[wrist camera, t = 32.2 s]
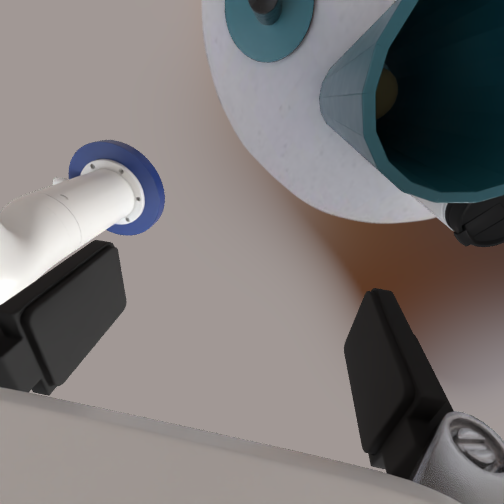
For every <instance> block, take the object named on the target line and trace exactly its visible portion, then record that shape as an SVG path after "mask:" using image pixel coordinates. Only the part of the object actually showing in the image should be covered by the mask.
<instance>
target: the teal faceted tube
mask: <svg viewBox="0 0 504 504" xmlns="http://www.w3.org/2000/svg"><path fill="white" fill-rule="evenodd" d="M383 68H385V69H387V70H389V71H391V73H392V74H393V75H394V76H395V78H396V80H397V84H398V95H397V98H396V101H395V103H394V105H393V106H392V108H391V109H390V110H389V111H388V112H387V113H386V114H385V115H384V116H382V117H381V118H379V119H377V120H376V89H377V86H378V83H379V79H380V76H381V73H382V69H383ZM319 100H320V110H321V113H322V116H323V118H324V120H325V122H326V123H327V124H328V125H329V126H330V127H331V128H332V129H333V130H334V131H335V132H337V133H338V134H339V135H340V136H341V137H342V138H343V139H344V140H345V141H347V142H348V143H349V144H350V145H351V146H352V147H353V148H354V149H355V150H356V151H358V152H359V153H360V154H361V155H362V156H363V157H364V158H365V159H366V160H368V161H369V162H370V163H371V164H372V165H373V166H374V167H375V168H376V169H378V170H379V171H380V172H381V173H382V174H383V175H384V176H385V177H386V178H388V179H389V180H390V181H391V182H392V183H393V184H394V185H395V186H396V187H397V188H399V189H400V190H401V191H403V192H404V193H407V194H410V195H413V196H416V197H419V198H422V199H425V200H428V201H430V202H433V203H477V202H481V201H484V200H488V199H491V198H495V197H498V196H502V195H504V0H397V1H396V2H395V3H394V4H393V5H392V6H391V7H390V8H389V9H388V10H387V11H386V12H385V13H384V14H383V15H382V16H381V17H380V18H379V19H378V20H377V21H376V22H375V23H374V24H373V25H372V26H371V27H370V28H369V29H368V30H367V31H366V32H365V33H364V34H363V35H362V36H361V38H360V39H359V40H358V41H357V42H356V43H355V44H354V45H353V46H352V47H351V48H350V49H349V50H348V51H347V52H346V53H345V54H344V55H343V56H342V57H341V58H340V59H339V60H338V61H337V62H336V63H335V64H334V65H333V66H332V67H331V68H330V70H329V72H328V73H327V75H326V77H325V79H324V81H323V83H322V87H321V91H320V97H319Z"/></svg>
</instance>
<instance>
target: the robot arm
mask: <svg viewBox="0 0 504 504" xmlns="http://www.w3.org/2000/svg"><path fill="white" fill-rule="evenodd" d="M144 205H145V196H144V192H143V189H142V186H141V184H140V182H139V181H138V179H137V178H136V176H135V175H134V174H133V173H132V172H131V171H130V170H129V169H128V168H127V167H125V166H124V165H122V164H121V163H118V162H116V161H113V160H109V159H99V160H95V161H92V162H90V163H89V164H87V165H86V166H85V167H84V168H83V170H82V172H81V175H80V176H78V177H75V178H72V179H69V180H67V179H64V178H58V177H56V178H54V180H53V185H52V186H49V187H46V188H43V189H40V190H37V191H34V192H32V193H29V194H26V195H23V196H20V197H18V198H16V199H14V200H12V201H11V202H10V203H8V204H7V205H6V206H5V207H4V208H3V209H2V210H1V212H0V504H504V441H503V440H502V439H501V437H500V436H499V435H498V434H497V433H496V432H495V431H494V430H492V429H491V428H490V427H489V426H488V425H486V424H485V423H484V422H482V421H480V420H479V419H477V418H475V417H474V416H471V415H468V414H466V413H463V412H455V411H453V409H452V407H451V405H450V403H449V401H448V399H447V397H446V395H445V393H444V391H443V389H442V387H441V385H440V383H439V381H438V379H437V377H436V375H435V373H434V371H433V369H432V367H431V365H430V363H429V361H428V359H427V357H426V355H425V353H424V352H423V349H422V347H421V345H420V343H419V341H418V339H417V338H416V336H415V335H414V334H413V332H412V330H411V328H410V326H409V324H408V322H407V320H406V318H405V316H404V314H403V312H402V310H401V308H400V306H399V304H398V302H397V300H396V298H395V296H394V294H393V293H392V292H391V291H388V290H382V289H376V288H374V289H372V291H371V292H370V291H367V292H366V294H365V296H364V298H363V301H362V303H361V305H360V308H359V310H358V313H357V315H356V318H355V320H354V323H353V325H352V327H351V330H350V332H349V334H348V337H347V339H346V342H345V345H344V354H345V359H346V364H347V370H348V374H349V380H350V385H351V391H352V395H353V401H354V407H355V412H356V417H357V423H358V428H359V433H360V438H361V443H362V448H363V450H364V452H366V453H368V454H369V458H370V463H371V466H373V467H377V468H382V469H386V472H387V473H383V472H380V471H377V470H373V469H369V468H364V467H360V466H356V465H352V464H348V463H344V462H340V461H336V460H331V459H328V458H323V457H319V456H315V455H311V454H306V453H302V452H297V451H293V450H289V449H284V448H280V447H275V446H271V445H267V444H262V443H258V442H253V441H249V440H244V439H240V438H235V437H230V436H227V435H222V434H218V433H213V432H208V431H204V430H199V429H195V428H190V427H186V426H181V425H177V424H172V423H168V422H163V421H158V420H154V419H149V418H145V417H140V416H136V415H131V414H126V413H122V412H117V411H113V410H108V409H103V408H99V407H94V406H89V405H85V404H80V403H75V402H70V401H66V400H60V399H56V398H52V397H47V396H42V395H37V394H33V393H29V391H30V390H31V389H32V391H33V392H35V393H39V394H44V395H50V394H51V393H52V391H53V390H54V389H55V388H56V387H57V386H60V385H61V384H63V383H64V382H65V381H66V380H67V378H68V377H69V376H70V375H71V373H72V372H73V371H74V370H75V369H76V368H77V366H78V365H79V364H80V363H81V361H82V360H83V359H84V358H85V357H86V355H87V354H88V353H89V352H90V351H91V349H92V348H93V347H94V346H95V345H96V343H97V342H98V341H99V340H100V338H101V337H102V336H103V335H104V333H105V332H106V331H107V330H108V329H109V327H110V326H111V325H112V324H113V323H114V321H115V320H116V319H117V318H118V317H119V315H120V314H121V313H122V312H123V310H124V308H125V306H126V296H125V290H124V284H123V278H122V272H121V267H120V260H119V254H118V249H117V248H115V247H114V245H113V243H111V242H105V241H99V240H95V241H93V242H91V243H90V244H88V245H87V246H85V247H84V248H82V249H81V250H80V251H78V252H77V253H75V254H74V255H72V256H71V257H69V258H68V259H66V260H65V261H64V262H62V263H61V264H59V265H58V266H56V267H55V268H54V269H52V270H51V271H49V272H48V273H46V274H45V275H43V276H42V277H40V276H41V275H42V274H44V273H45V272H46V271H47V270H48V269H49V268H51V267H52V266H53V265H55V264H56V263H57V262H59V261H60V260H61V259H63V258H64V257H66V256H67V255H69V254H70V253H72V252H73V251H75V250H76V249H78V248H79V247H81V246H82V245H84V244H85V243H87V242H88V241H90V240H91V239H93V238H94V237H96V236H97V235H99V234H100V233H102V232H103V231H105V230H106V229H108V228H109V227H111V226H112V225H114V224H120V225H122V224H128V223H131V222H133V221H134V220H136V219H137V218H138V217H139V216H140V215H141V213H142V212H143V209H144ZM39 277H40V278H39ZM38 278H39V279H38Z"/></svg>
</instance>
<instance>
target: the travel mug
mask: <svg viewBox="0 0 504 504" xmlns="http://www.w3.org/2000/svg"><path fill="white" fill-rule="evenodd" d="M411 196H413V195H411ZM413 197H414V198H415V199H416V200H417V201H418V202H420V203H421V204H422V205H423V206H424V207H425V208H427V209H428V210H429V211H430V212H431V213H432V214H434V215H435V216H436V217H437V218H438V219H440V220H441V221H442V222H443V223H444V224H445V225H446V226H448V227H449V228H450V229H451V230H453V231H454V235H455V237H456V238H457V240H458V241H459V242H460V243H462V244H463V245H465V246H468V245H470V244H471V245H474V246H478V247H490V246H495V245H498V244H501V243H504V195H502V196H498V197H495V198H491V199H488V200H484V201H481V202H477V203H433V202H430V201H428V200H425V199H422V198H419V197H416V196H413Z"/></svg>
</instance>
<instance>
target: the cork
mask: <svg viewBox="0 0 504 504" xmlns="http://www.w3.org/2000/svg"><path fill="white" fill-rule="evenodd" d="M397 95H398V84H397V80H396V78H395V76H394V75H393V74H392V73H391V71H389V70H387V69H385V68H383V69H382V73H381V76H380V79H379V83H378V86H377V89H376V120H377V119H379V118H381V117H382V116H384V115H385V114H386V113H387V112H388V111H389V110H390V109H391V108H392V106H393V105H394V103H395V101H396V98H397Z"/></svg>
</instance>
